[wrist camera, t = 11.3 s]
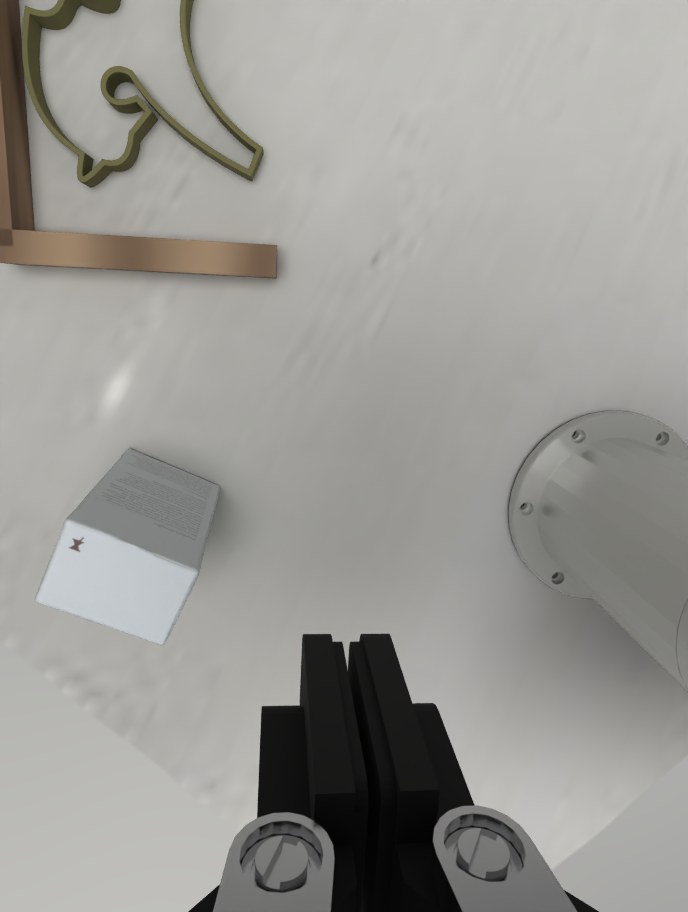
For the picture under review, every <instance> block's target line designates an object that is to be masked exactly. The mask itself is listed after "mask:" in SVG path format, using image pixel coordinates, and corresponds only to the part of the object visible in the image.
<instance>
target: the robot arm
mask: <svg viewBox="0 0 688 912" xmlns="http://www.w3.org/2000/svg"><path fill="white" fill-rule="evenodd" d="M575 431H576V433H575V435H574V436H573V437H572V435H573V432H575ZM523 503H525V504H524V506H523V507H521V508H520V506H521V505H522V504H523ZM509 527H510V532H511V536H512V540H513V543H514V545H515V548H516V550H517V552H518V554H519V556H520V558H521V559H522V560H523V562H524V563H525V564H526V565H527V567H528V568H529V569H530V570H531V571H532V572H533V573H534V574H535V575H536V576H537V577H538V578H539V580H541V581H542V582H543V583H545V584H546V585H548V586H549V587H550V588H552V589H554V590H557V591H559V592H562V593H564V594H566V595H569V596H574V597H580V598H585V599H594V600H595V601H596V602H597V603H598V604H599V605H600V606H601V607H602V608H603V609H604V610H605V611H606V612H607V613H608V614H609V615H610V616H611V617H612V618H613V619H614V620H615V621H616V622H617V623H618V624H619V625H620V626H621V627H622V628H623V629H624V630H625V631H626V632H627V633H628V634H629V635H630V636H631V637H632V638H633V639H634V640H635V641H636V642H637V643H638V644H639V645H640V646H641V647H642V648H643V649H645V650H646V651H647V652H648V653H649V654H650V655H651V656H652V657H653V658H654V659H655V660H656V661H657V662H658V663H659V664H660V665H661V666H662V667H663V668H664V669H665V670H666V671H667V672H668V673H669V674H670V675H671V676H672V677H673V678H674V679H675V680H676V681H677V682H678V683H679V684H680V685H681V686H682V687H683V688H684V689H685V690H686V691H687V692H688V446H687V445H686V443H685V442H684V441H683V440H682V439H681V438H680V437H679V436H678V435H677V434H676V433H675V432H674V431H673V430H672V429H670V428H669V427H667V426H665V425H664V424H662V423H661V422H659V421H657V420H654V419H652V418H649V417H646V416H644V415H640V414H636V413H632V412H627V411H603V412H597V413H591V414H588V415H585V416H582V417H579V418H576V419H574V420H571V421H570V422H568V423H566V424H564V425H563V426H561V427H559V428H557V429H556V430H554V431H553V432H552V433H551V434H550V435H548V436H547V437H546V438H545V439H544V440H542V441H541V442H540V443H539V444H538V446H537V447H536V448H535V449H534V450H533V451H532V453H531V454H530V455H529V456H528V457H527V459H526V461H525V463H524V464H523V466H522V468H521V469H520V471H519V473H518V475H517V478H516V481H515V483H514V486H513V489H512V492H511V498H510V504H509ZM553 574H554V575H553ZM189 912H599V911H597V910H595V909H594V908H592V907H591V906H589V905H587V904H586V903H584V902H583V901H581V900H579V899H578V898H576V897H574V896H573V895H571V894H570V893H568V892H566V891H565V890H563V888H562V887H561V885H560V884H559V882H558V881H557V879H556V877H555V876H554V874H553V873H552V871H551V870H550V868H549V866H548V865H547V863H546V862H545V860H544V859H543V857H542V855H541V854H540V852H539V851H538V849H537V848H536V846H535V844H534V843H533V841H532V840H531V838H530V837H529V836H528V834H527V833H526V832H525V831H524V830H523V828H522V827H521V826H520V825H519V824H518V823H516V822H515V821H514V820H512V819H511V818H510V817H508V816H507V815H505V814H503V813H500V812H498V811H496V810H494V809H491V808H486V807H481V806H474V803H473V800H472V798H471V795H470V792H469V790H468V787H467V784H466V782H465V779H464V777H463V774H462V771H461V769H460V766H459V763H458V761H457V758H456V755H455V753H454V750H453V748H452V745H451V742H450V740H449V737H448V734H447V732H446V729H445V727H444V724H443V721H442V719H441V716H440V713H439V711H438V709H437V707H436V705H435V704H433V703H415V704H412V701H411V698H410V695H409V692H408V689H407V686H406V683H405V679H404V676H403V673H402V670H401V667H400V664H399V661H398V658H397V655H396V652H395V648H394V645H393V642H392V639H391V636H390V634H361V636H360V641H359V642H350V646H349V661H348V670H347V665H346V659H345V654H344V648H343V643H342V642H332V636H331V634H303V638H302V660H301V685H300V706H262V713H261V738H260V763H259V787H258V812H257V819H255V820H254V821H252V822H250V823H249V824H247V825H245V827H244V828H243V829H242V830H241V831H240V832H239V833H238V834H237V835H236V837H235V838H234V841H233V843H232V845H231V847H230V849H229V853H228V857H227V860H226V864H225V868H224V871H223V876H222V879H221V883H220V885H219V886H217V887H216V888H215V889H214V890H213V891H212V892H211V893H209V894H208V895H207V896H206V897H205V898H204V899H202V900H201V901H200V902H199V903H198V904H197V905H195V906H194V907H193V908H192V909H191V910H190V911H189Z"/></svg>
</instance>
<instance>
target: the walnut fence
mask: <svg viewBox="0 0 688 912" xmlns="http://www.w3.org/2000/svg"><path fill="white" fill-rule="evenodd" d="M276 261H277V245H265V244H248V243H231V242H214V241H197V240H180V239H164V238H147V237H130V236H113V235H96V234H79V233H62V232H45V231H34V218H33V203H32V189H31V174H30V160H29V145H28V131H27V116H26V102H25V88H24V73H23V59H22V44H21V30H20V15H19V1H18V0H0V263H7V264H18V265H36V266H55V267H74V268H92V269H111V270H130V271H149V272H167V273H186V274H205V275H223V276H242V277H261V278H276Z"/></svg>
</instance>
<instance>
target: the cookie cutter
mask: <svg viewBox="0 0 688 912" xmlns="http://www.w3.org/2000/svg"><path fill="white" fill-rule="evenodd" d="M193 1H194V0H181V5H180V28H181V36H182V42H183V47H184V51H185V54H186V58H187V61H188V64H189V66H190V69H191V71H192V74H193V76H194V79H195V81H196V83H197V86H198V88H199V90H200V92H201V94H202V96H203V97H204V99H205V101H206V102H207V104H208V105H209V107H210V109H211V110H212V111H213V113H214V114H215V115H216V117H217V118H218V119H219V120H220V122H221V123H222V124H223V125H224V126H225V127H226V128H227V130H228V131H229V132H230V133H231V134H232V135H233V136H234V137H235V138H236V139H238V140H239V141H240V142H241V143H242V144H243V145H244V146H246V147H247V148H248V149H249V150H251V151H252V152H253V153H254V154H255V155H254V157H253V160H252V162H251V164H250V167H249V169H246V168H244V167H242V166H241V165H239V164H237V163H235V162H233V161H232V160H230V159H228V158H227V157H225V156H223V155H222V154H220V153H218V152H217V151H215V150H214V149H212V148H211V147H209V146H208V145H206V144H205V143H203V142H202V141H200V140H199V139H198V138H196V137H195V136H193V135H192V134H191V133H190V132H188V131H187V130H186V129H184V128H183V127H182V126H181V125H180V124H178V123H177V122H176V121H175V120H174V119H173V118H172V117H171V116H169V115H168V114H167V113H166V112H165V111H164V110H163V109H162V108H161V107H160V106H159V105H158V104H157V102H156V101H155V100H154V99H153V98H152V97H151V96H150V95H149V93H148V92H147V91H146V90H145V88H144V87H143V86H142V84H141V83H140V82H139V80H138V79H137V77H136V76H135V74H134V73H133V71H132V70H130V69H128V68H125V67H122V66H114V67H111V68H109V69H108V70H107V71H106V72H105V73H104V74H103V76H102V79H101V91H102V94H103V96H104V97H105V98H106V100H107V101H108V102H109V103H110V104H111V105H112V106H113V107H114V108H115V109H116V110H117V111H119V112H122V113H128V114H129V113H136V112H140V111H142V110H143V111H144V114H143V115H142V116H141V117H140V119H139V120H138V121H137V122H136V124H135V125H134V126H133V128H132V129H131V130H130V131H129V136H128V142H127V146H126V149H125V152H124V154H123V155H122V156H121V157H120V158H119V159H117V160H113V161H110V160H104V159H102V160H101V161H100V162H99V163H98V164H97V166H96V167H95V168H94V169H93V170H92V165H93V160H94V159H92V158H91V157H90V156H88V155H87V154H85V153H84V152H82V151H81V150H79V149H78V148H77V147H76V146H75V145H74V144H72V143H71V142H70V141H69V140H68V139H67V137H66V136H65V135H64V134H63V133H62V131H61V130H60V129H59V127H58V126H57V124H56V123H55V121H54V119H53V117H52V115H51V113H50V111H49V108H48V106H47V103H46V100H45V97H44V93H43V89H42V83H41V76H40V61H39V55H40V37H41V29H42V27H44V28H47V29H52V30H60V29H64V28H66V27H67V26H68V25H69V24H70V23H71V21H72V20H73V18H74V16H75V13H76V11H77V9H78V8H79V7H80V6H81V5H83V6H85V7H87V8H89V9H92V10H94V11H97V12H100V13H106V14H110V13H114V12H116V11H117V10H118V8H119V7H120V3H121V0H58V2H57V4H56V5H55V6H54V7H53V8H52V9H50V10H47V11H41V10H36V9H33V8H30V7H27V6H25V10H24V18H23V29H22V57H23V67H24V74H25V79H26V83H27V87H28V90H29V94H30V96H31V99H32V102H33V104H34V106H35V108H36V110H37V112H38V114H39V116H40V117H41V119H42V120H43V122H44V123H45V125H46V126H47V127H48V129H49V130H50V131H51V132H52V133H53V134H54V136H55V137H56V138H57V139H58V140H59V141H61V142H62V143H63V144H64V145H65V146H66V147H68V148H69V149H70V150H72V151H73V152H75V153H76V154H77V155H79V158H78V165H77V176H78V180H79V181H80V182H82V183H83V184H85V185H87V186H89V187H94V186H96V185H98V184H99V183H100V182H102V181H103V180H104V179H105V178H106V177H107V176H108V175H109V174H110V173H111V172H112V171H126V170H128V169H130V168H131V167H132V166H133V165H134V163H135V161H136V159H137V157H138V154H139V149H140V142H141V140H142V139H143V138H144V137H145V135H146V134H147V133H148V132H149V130H150V129H151V128H152V127H153V125H154V124H155V123H156V122H157V121H158V119H157V118H156V117H155V115H154V114H153V112H152V111H151V110H150V109H149V108H148V107H147V106H146V104H145V103H144V102H143V101H142V100H141V99H140V98H139V97H138V95H136V96H134V97H131V98H127V99H115V98H114V91H115V89H116V87H117V86H118V85H119V84H120V83H123V82H130V83H133V84H135V85H136V86H137V88H138V89H139V90H140V92H141V93H142V95H143V96H144V97H145V99H146V100H147V101H148V103H149V104H150V105H151V106H152V107H153V109H154V110H155V111H156V112H157V113H158V114H159V115H160V116H161V117H162V118H163V120H165V121H166V122H167V123H168V124H169V125H170V126H171V127H172V128H173V129H174V130H175V131H176V132H177V133H178V134H180V135H181V136H182V137H183V138H184V139H186V140H187V141H188V142H189V143H191V144H192V145H193V146H195V147H196V148H197V149H199V150H200V151H202V152H203V153H204V154H206V155H207V156H209V157H210V158H212V159H213V160H215V161H217V162H218V163H220V164H221V165H223V166H225V167H226V168H228V169H230V170H232V171H233V172H235V173H237V174H239V175H241V176H242V177H244V178H246V179H248V180H250V181H253V178H254V176H255V173H256V171H257V169H258V166H259V164H260V161H261V159H262V156H263V148H262V147H261V146H260V145H258V144H257V143H255V142H254V141H253V140H252V139H250V138H249V137H248V136H247V135H246V134H244V133H243V132H242V131H241V130H240V129H239V128H238V127H237V126H236V125H235V124H234V123H233V122H232V121H231V120H230V119H229V118H228V117H227V116H226V115H225V114H224V113H223V112H222V110H221V109H220V108H219V107H218V105H217V104H216V103H215V101H214V100H213V99H212V97H211V96H210V94H209V93H208V91H207V90H206V88H205V86H204V84H203V83H202V81H201V79H200V77H199V75H198V72H197V70H196V67H195V64H194V60H193V56H192V51H191V44H190V16H191V10H192V5H193Z"/></svg>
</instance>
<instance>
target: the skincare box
mask: <svg viewBox="0 0 688 912" xmlns="http://www.w3.org/2000/svg"><path fill="white" fill-rule="evenodd" d="M219 492H220V486H218V485H216V484H213V483H211V482H209V481H206V480H204V479H202V478H199V477H197V476H194V475H192V474H190V473H187V472H185V471H182V470H180V469H178V468H175V467H173V466H170V465H168V464H166V463H163V462H161V461H158V460H156V459H153V458H151V457H149V456H146V455H144V454H142V453H139V452H137V451H135V450H133V449H128V450H127V451H126V452H125V453H124V454H123V455H122V456H121V458H120V459H119V460H118V461H117V462H116V463H115V464H114V466H113V467H112V468H111V469H110V470H109V471H108V472H107V473H106V474H105V476H104V477H103V478H102V479H101V480H100V481H99V483H98V484H97V485H96V486H95V487H94V488H93V489H92V490H91V492H90V493H89V494H88V495H87V496H86V497H85V499H84V500H83V501H82V502H81V503H80V505H79V506H78V507H77V508H76V509H75V510H74V511H73V512H72V513H71V514H70V515H69V516H68V517H67V518H66V519H65V521H64V524H63V527H62V529H61V532H60V535H59V537H58V540H57V543H56V545H55V548H54V551H53V553H52V556H51V558H50V561H49V564H48V566H47V569H46V571H45V574H44V576H43V579H42V582H41V584H40V587H39V589H38V592H37V594H36V597H35V601H36V602H37V603H40V604H43V605H46V606H49V607H52V608H55V609H58V610H61V611H63V612H66V613H69V614H72V615H75V616H78V617H81V618H84V619H87V620H90V621H93V622H96V623H99V624H102V625H105V626H108V627H111V628H113V629H116V630H119V631H122V632H125V633H128V634H131V635H133V636H136V637H139V638H142V639H145V640H148V641H151V642H153V643H156V644H159V645H164V644H165V642H166V640H167V638H168V636H169V634H170V632H171V630H172V628H173V626H174V624H175V622H176V620H177V618H178V616H179V614H180V612H181V610H182V608H183V606H184V604H185V602H186V600H187V598H188V596H189V594H190V592H191V590H192V588H193V585H194V583H195V581H196V579H197V577H198V575H199V572H200V568H201V563H202V559H203V554H204V550H205V546H206V542H207V538H208V534H209V530H210V527H211V523H212V519H213V515H214V512H215V508H216V504H217V500H218V496H219Z"/></svg>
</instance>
